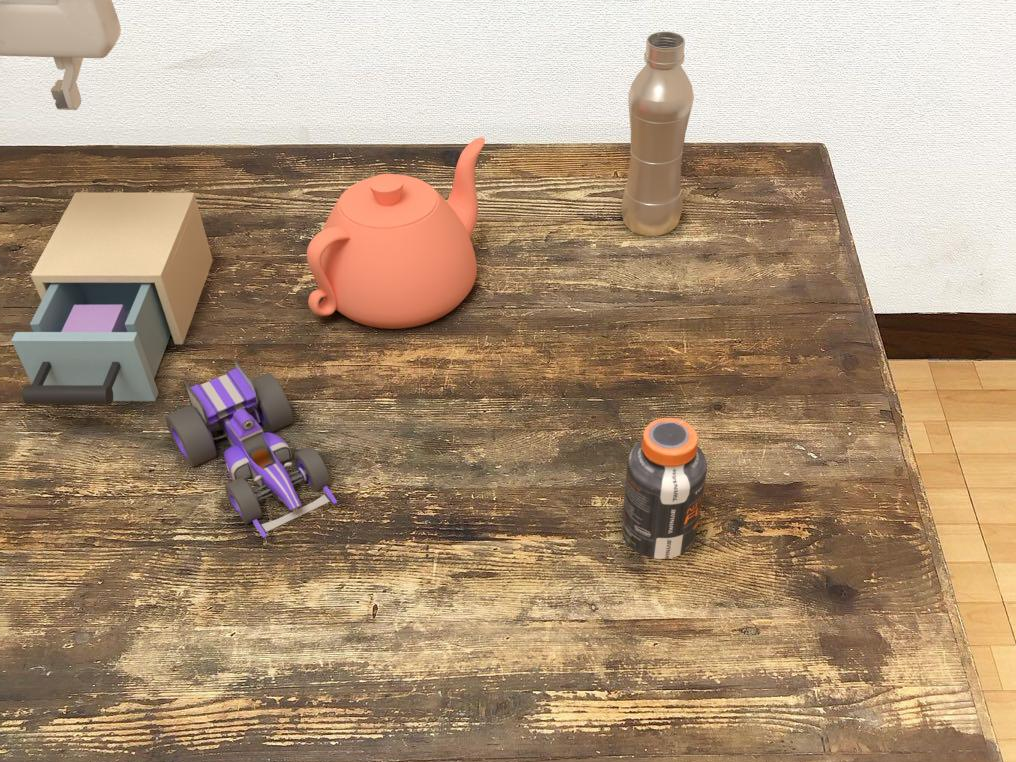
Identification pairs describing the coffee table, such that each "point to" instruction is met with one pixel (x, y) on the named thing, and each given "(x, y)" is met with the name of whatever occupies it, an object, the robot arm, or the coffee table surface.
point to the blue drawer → (93, 347)
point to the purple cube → (96, 319)
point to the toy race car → (248, 443)
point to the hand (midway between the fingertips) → (12, 105)
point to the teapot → (397, 249)
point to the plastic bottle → (657, 137)
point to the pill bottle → (664, 490)
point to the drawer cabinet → (132, 248)
